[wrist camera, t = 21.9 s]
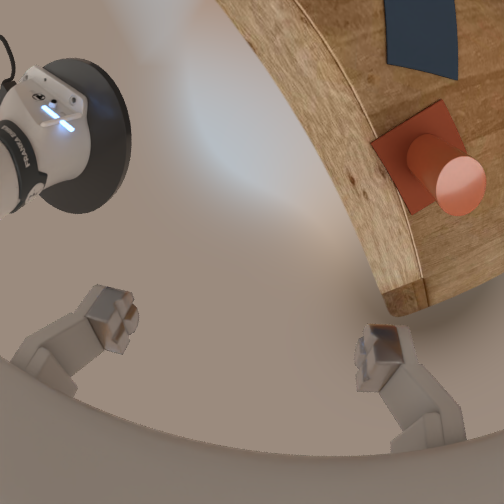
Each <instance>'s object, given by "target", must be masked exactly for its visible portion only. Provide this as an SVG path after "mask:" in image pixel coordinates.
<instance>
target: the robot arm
mask: <svg viewBox="0 0 504 504" xmlns="http://www.w3.org/2000/svg"><path fill="white" fill-rule="evenodd" d="M0 40H1V41H2V42H3V44H4V46H5V48H6V50H7V53H8V55H9V58H10V61H11V66H12V73H11V77H10V78H8V79H5V80H4V81H3V82H2V84H1V89H0V220H2V219H3V218H4V217H5V216H6V215H7V214H9V213H14V212H16V211H17V210H18V209H20V208H21V207H23V206H24V205H25V204H28V203H29V202H30V201H32V200H33V199H34V198H35V197H37V196H38V195H39V194H40V193H41V192H42V190H44V189H46V188H48V187H50V186H52V185H54V184H57V183H59V182H62V181H66V180H71V179H74V178H76V177H78V176H79V175H80V174H81V173H82V172H83V170H84V169H85V167H86V165H87V163H88V160H89V156H90V150H91V138H90V131H89V127H88V123H87V108H88V101H87V98H86V96H85V95H83V94H82V93H80V92H79V91H77V90H76V89H74V88H73V87H71V86H70V85H68V84H67V83H65V82H64V81H62V80H61V79H59V78H58V77H56V76H55V75H53V74H52V73H50V72H48V71H47V70H45V69H44V68H42V67H41V66H39V65H34V66H32V67H31V68H29V69H28V70H27V71H26V73H25V74H24V75H23V76H22V78H21V80H20V81H19V83H18V84H16V82H15V81H12V80H13V79H14V76H15V61H14V57H13V55H12V52H11V50H10V47H9V45H8V43H7V41H6V39H5V38H4V37H3V36H2V35H0ZM75 99H76V101H75ZM133 301H134V298H133V295H132V293H131V292H128V291H124V290H120V289H115V288H111V287H106V286H102V285H98V284H97V285H95V286H93V288H92V289H91V290H90V291H89V293H88V294H87V295H86V297H85V298H84V300H83V301H82V302H81V304H80V305H79V306H78V308H77V309H76V311H75V312H74V313H69V314H67V315H66V316H64V317H62V318H60V319H58V320H57V321H55V322H53V323H51V324H49V325H48V326H46V327H44V328H42V329H41V330H39V331H37V332H36V333H34V334H32V335H30V336H28V337H27V338H25V340H24V341H23V343H22V344H21V346H20V348H19V349H18V351H17V352H16V353H15V355H14V357H13V358H12V360H11V361H10V362H9V361H7V360H5V359H4V358H2V357H1V356H0V504H504V429H503V430H501V431H497V432H494V433H492V434H488V435H485V436H481V437H478V438H474V439H470V440H467V439H466V433H465V427H464V422H463V416H462V411H461V407H460V406H459V405H458V404H457V402H456V401H455V400H454V399H453V398H452V397H451V396H450V395H449V394H448V392H447V391H446V390H445V389H444V388H443V387H442V386H441V384H440V383H439V382H438V381H437V380H436V379H435V378H434V377H433V375H432V374H431V373H430V372H429V371H428V370H427V369H426V368H425V367H424V366H423V365H422V364H418V359H417V355H416V351H415V347H414V344H413V340H412V336H411V332H410V329H409V327H408V326H406V325H387V324H367V325H365V327H364V329H363V337H361V338H360V339H359V340H358V342H357V344H356V349H355V365H356V366H357V368H358V369H359V371H358V372H357V374H356V385H357V386H356V387H357V392H379V395H380V396H381V398H382V399H383V401H384V402H385V404H386V405H387V407H388V408H389V410H390V412H391V413H392V415H393V416H394V418H395V420H396V421H397V423H398V424H399V426H400V428H401V429H402V431H403V432H402V433H401V434H399V435H398V436H397V437H396V438H394V439H393V440H392V441H391V442H390V444H391V454H380V455H363V456H306V455H290V454H278V453H268V452H260V451H252V450H245V449H238V448H232V447H227V446H221V445H216V444H211V443H206V442H202V441H197V440H193V439H189V438H185V437H181V436H177V435H173V434H169V433H166V432H163V431H159V430H156V429H153V428H150V427H146V426H143V425H140V424H137V423H134V422H131V421H129V420H126V419H123V418H120V417H118V416H115V415H113V414H110V413H107V412H105V411H102V410H100V409H98V408H95V407H92V406H91V405H88V404H86V403H84V402H81V401H79V400H77V399H75V398H73V397H74V395H75V393H76V391H77V385H76V384H75V383H74V381H73V380H72V379H71V378H70V377H71V376H73V375H74V374H75V373H76V372H77V371H79V370H80V369H82V368H83V367H84V366H85V365H87V364H88V363H89V362H90V361H92V360H93V359H94V358H95V357H97V356H98V355H100V354H101V353H102V352H103V351H104V350H107V351H111V352H114V353H118V354H122V355H123V353H124V351H125V350H126V348H127V345H128V344H129V342H130V340H129V335H131V334H132V333H134V332H135V330H136V328H137V326H138V321H139V313H138V309H137V307H136V306H135V305H134V304H133Z"/></svg>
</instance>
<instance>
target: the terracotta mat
mask: <svg viewBox="0 0 504 504" xmlns="http://www.w3.org/2000/svg"><path fill="white" fill-rule="evenodd" d="M424 134H434V135H437V136H439V137H441V138H442V139H444V140H446V141H447V142H449V143H451V144H452V145H454V146H456V147H457V148H459V149H460V150H462V151H463V152H465V153H467V152H466V150H465V147H464V145H463V142H462V140H461V138H460V135H459V133H458V131H457V128H456V126H455V124H454V122H453V120H452V118H451V116H450V114H449V112H448V109H447V107H446V106H445V104H444V102H443V100H442V99H441V100H439V101H437V102H436V103H434V104H433V105H431V106H429V107H428V108H426V109H424V110H423V111H421V112H419V113H418V114H416V115H415V116H413V117H411V118H410V119H408V120H406V121H405V122H403V123H402V124H400V125H398V126H397V127H395V128H394V129H392V130H390V131H389V132H387V133H386V134H384V135H383V136H381V137H379V138H378V139H376V140H375V141H373V142H372V143H371V145H372V147H373V148H374V150H375V151H376V153H377V155H378V156H379V158H380V159H381V161H382V163H383V164H384V166H385V168H386V169H387V171H388V173H389V175H390V176H391V178H392V180H393V182H394V183H395V185H396V187H397V189H398V190H399V192H400V194H401V196H402V198H403V200H404V202H405V204H406V205H407V207H408V209H409V211H410V213H411V215H413V214H415V213H416V212H418V211H420V210H421V209H423V208H425V207H426V206H428V205H429V204H431V203H433V202H434V201H435V200H434V199H433V198H432V197H431V195H430V194H429V193H428V192H427V191H426V190H425V189H424V187H423V186H422V185H421V184H420V183H419V182H418V181H417V180H416V179H415V178H414V176H413V175H412V174H411V173H410V171H409V168H408V165H407V153H408V149H409V147H410V145H411V144H412V142H413V141H414V140H415V139H416V138H418V137H419V136H421V135H424Z"/></svg>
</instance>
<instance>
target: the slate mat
mask: <svg viewBox="0 0 504 504" xmlns="http://www.w3.org/2000/svg"><path fill="white" fill-rule="evenodd" d="M384 7H385V20H386V39H387V64H390V65H396V66H401V67H406V68H411V69H415V70H420V71H424V72H428V73H432V74H436V75H440V76H443V77H447V78H450V79H454V80H458V40H457V24H456V13H455V4H454V0H384Z"/></svg>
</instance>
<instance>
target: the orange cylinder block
mask: <svg viewBox="0 0 504 504" xmlns="http://www.w3.org/2000/svg"><path fill="white" fill-rule="evenodd" d="M407 165H408V168H409V171H410V173H411V174H412V175H413V176H414V178H415V179H416V180H417V181H418V182H419V183H420V184H421V185H422V186H423V187H424V189H425V190H426V191H427V192H428V193H429V194H430V195H431V197H432V198H433V199H434V200H435V201H436V202H437V204H438V205H439V206H440V207H441V208H442V210H443V211H445V212H446V213H448V214H450V215H453V216H462V215H466V214H468V213H470V212H471V211H473V210H474V209H475V208H476V207H477V206H478V205H479V203H480V202H481V200H482V198H483V196H484V193H485V189H486V176H485V172H484V170H483V168H482V166H481V164H480V163H479V162H478V161H477V160H475V159H474V158H473V157H471V156H470V155H468V154H467V153H465V152H463V151H462V150H460V149H459V148H457V147H456V146H454V145H452V144H451V143H449V142H447V141H446V140H444V139H442V138H441V137H439V136H437V135H434V134H424V135H421V136H419V137H418V138H416V139H415V140H414V141H413V142H412V144H411V145H410V147H409V149H408V153H407Z"/></svg>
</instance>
